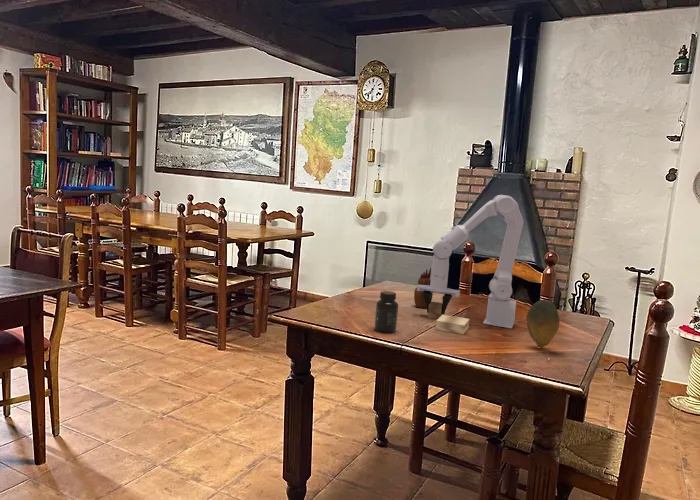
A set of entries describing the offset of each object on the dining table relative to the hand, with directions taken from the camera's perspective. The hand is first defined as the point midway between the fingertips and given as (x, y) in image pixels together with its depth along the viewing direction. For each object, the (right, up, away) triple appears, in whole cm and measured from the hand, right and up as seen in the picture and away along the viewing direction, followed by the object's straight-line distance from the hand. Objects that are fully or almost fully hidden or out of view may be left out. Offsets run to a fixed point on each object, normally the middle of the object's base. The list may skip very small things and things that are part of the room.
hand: (435, 313), depth 184 cm
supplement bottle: (-19, -3, -19) cm, 27 cm away
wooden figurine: (-3, +1, +14) cm, 15 cm away
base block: (+3, -3, -12) cm, 13 cm away
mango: (+26, -7, -27) cm, 38 cm away
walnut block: (0, -1, 0) cm, 1 cm away
